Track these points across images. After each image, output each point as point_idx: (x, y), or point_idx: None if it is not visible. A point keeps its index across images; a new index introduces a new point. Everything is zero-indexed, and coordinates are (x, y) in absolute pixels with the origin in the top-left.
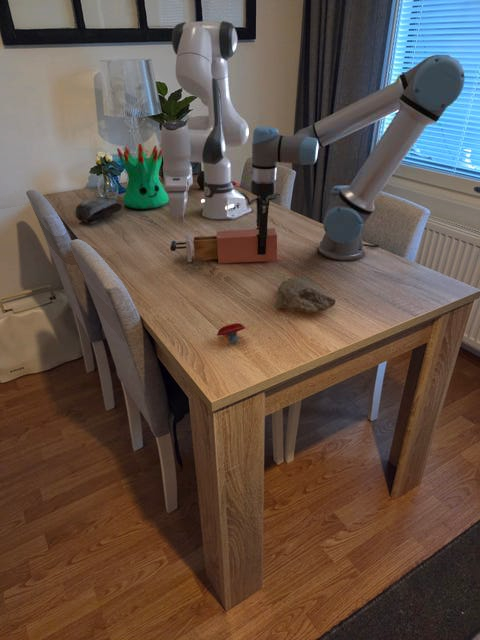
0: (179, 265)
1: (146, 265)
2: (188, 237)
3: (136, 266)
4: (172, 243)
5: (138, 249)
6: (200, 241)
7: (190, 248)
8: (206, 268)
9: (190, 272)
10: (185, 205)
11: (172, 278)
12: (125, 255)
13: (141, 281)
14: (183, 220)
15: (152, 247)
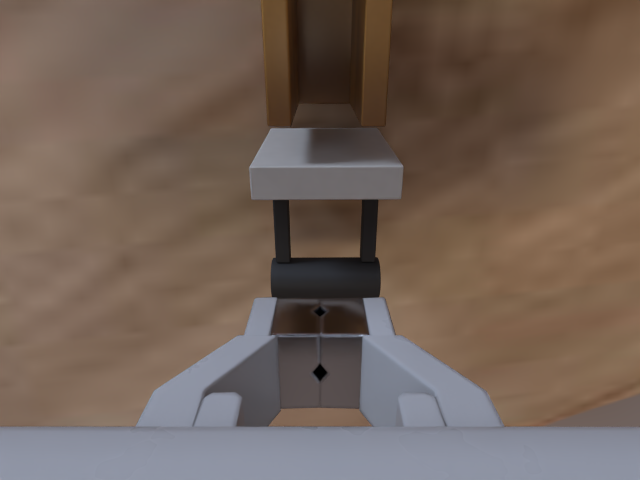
0: (403, 201)
1: None
2: (294, 180)
3: None
4: (324, 294)
5: None
6: (387, 48)
7: (346, 146)
8: (473, 10)
9: (518, 124)
10: (418, 476)
11: (578, 225)
12: None
13: (574, 366)
14: (368, 306)
15: (140, 370)
